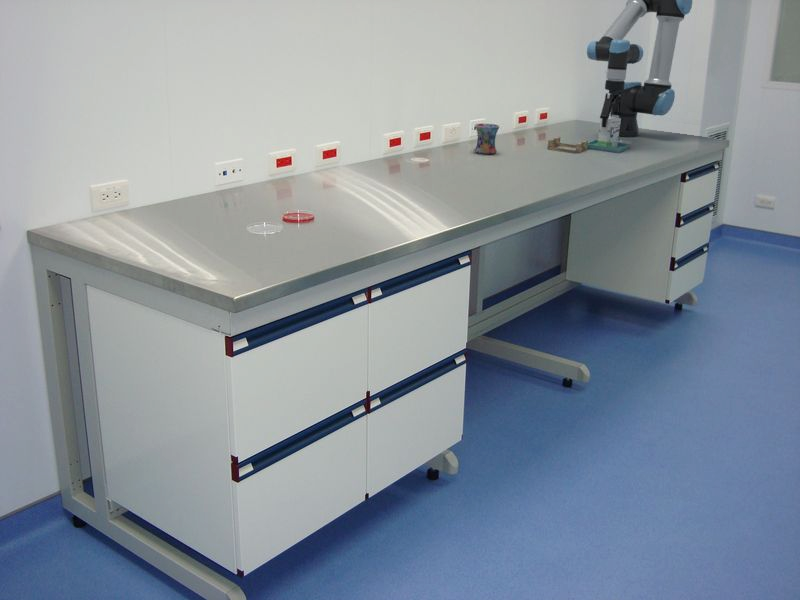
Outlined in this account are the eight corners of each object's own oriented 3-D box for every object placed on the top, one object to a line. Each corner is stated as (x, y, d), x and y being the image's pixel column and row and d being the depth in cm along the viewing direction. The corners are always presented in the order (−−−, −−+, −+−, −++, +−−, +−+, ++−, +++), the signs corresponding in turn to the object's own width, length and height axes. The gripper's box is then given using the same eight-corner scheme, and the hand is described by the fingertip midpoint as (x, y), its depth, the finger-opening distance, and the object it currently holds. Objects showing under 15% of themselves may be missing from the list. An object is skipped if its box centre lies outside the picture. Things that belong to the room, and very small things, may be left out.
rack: (557, 145, 350) (558, 136, 349) (587, 149, 344) (588, 140, 343) (547, 149, 340) (547, 140, 338) (577, 153, 334) (578, 144, 333)
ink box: (606, 148, 343) (610, 119, 339) (596, 146, 347) (600, 117, 342) (617, 146, 349) (621, 117, 345) (607, 144, 352) (610, 116, 348)
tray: (594, 143, 357) (594, 139, 356) (629, 148, 350) (629, 144, 349) (583, 148, 346) (584, 143, 345) (619, 153, 339) (620, 148, 338)
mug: (490, 156, 320) (492, 128, 317) (468, 152, 325) (470, 125, 321) (504, 152, 330) (507, 124, 326) (484, 148, 335) (486, 121, 331)
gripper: (615, 76, 350) (608, 128, 358) (596, 81, 330) (590, 135, 337) (633, 78, 347) (626, 130, 354) (615, 83, 326) (608, 138, 334)
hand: (608, 133), depth 346 cm, fingers open, 13 cm apart
